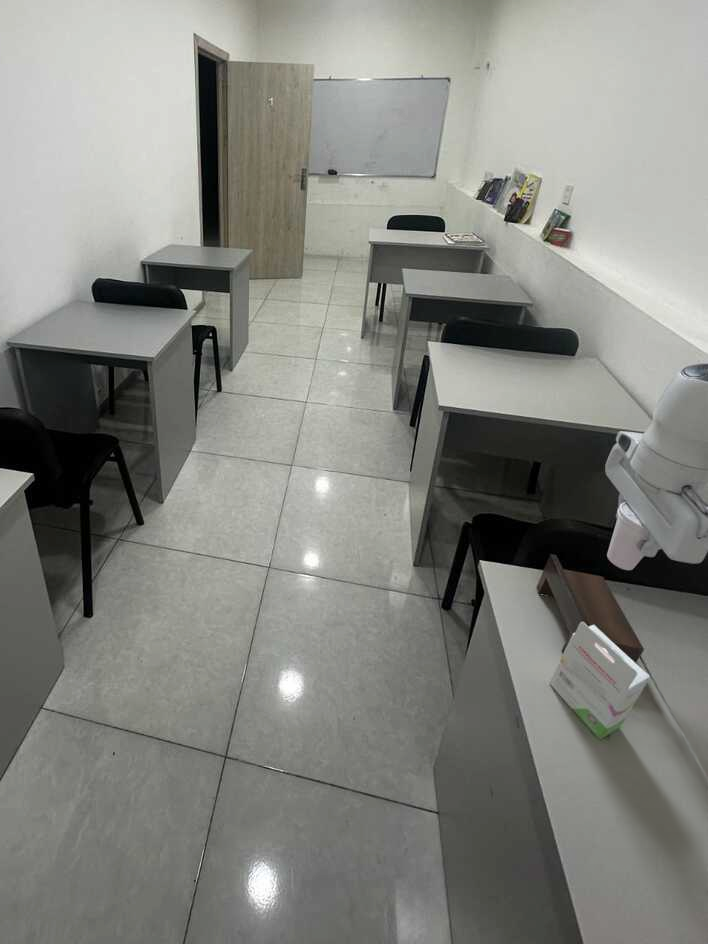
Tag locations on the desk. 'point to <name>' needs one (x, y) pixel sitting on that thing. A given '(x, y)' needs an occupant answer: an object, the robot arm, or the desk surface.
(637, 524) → the smoothie
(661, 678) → the desk surface
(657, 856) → the desk surface
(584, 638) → the ink box
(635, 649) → the shelf
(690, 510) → the robot arm
